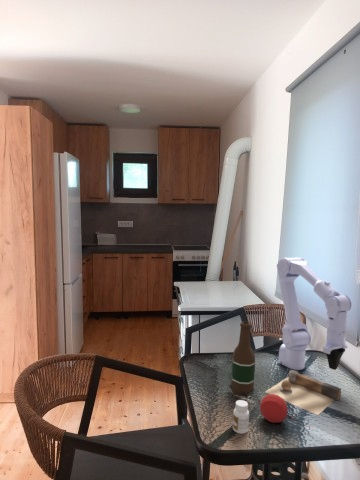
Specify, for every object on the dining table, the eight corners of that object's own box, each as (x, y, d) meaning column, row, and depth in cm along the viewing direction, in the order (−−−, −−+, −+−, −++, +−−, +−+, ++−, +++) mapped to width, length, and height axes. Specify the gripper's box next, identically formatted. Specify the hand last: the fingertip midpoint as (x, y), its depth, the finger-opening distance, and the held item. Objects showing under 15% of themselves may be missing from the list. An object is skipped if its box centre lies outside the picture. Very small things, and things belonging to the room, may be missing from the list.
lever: (286, 380, 126) (287, 372, 126) (291, 378, 129) (291, 369, 128) (337, 401, 114) (338, 391, 114) (341, 397, 116) (341, 387, 116)
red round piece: (274, 400, 100) (278, 383, 107) (252, 409, 104) (257, 392, 110) (291, 423, 100) (294, 405, 106) (269, 431, 103) (273, 413, 110)
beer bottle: (255, 388, 123) (259, 321, 121) (250, 399, 116) (254, 328, 114) (234, 383, 126) (237, 317, 124) (227, 393, 119) (231, 324, 117)
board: (264, 396, 119) (265, 381, 118) (289, 380, 131) (290, 366, 130) (317, 420, 106) (318, 404, 106) (339, 399, 118) (340, 385, 118)
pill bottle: (230, 424, 102) (232, 399, 101) (245, 424, 103) (247, 398, 102) (234, 434, 98) (236, 407, 97) (250, 434, 98) (251, 407, 97)
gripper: (340, 338, 113) (336, 379, 115) (355, 328, 124) (352, 366, 125) (318, 332, 118) (315, 371, 120) (335, 323, 129) (332, 359, 130)
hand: (333, 368), depth 123 cm, fingers closed
